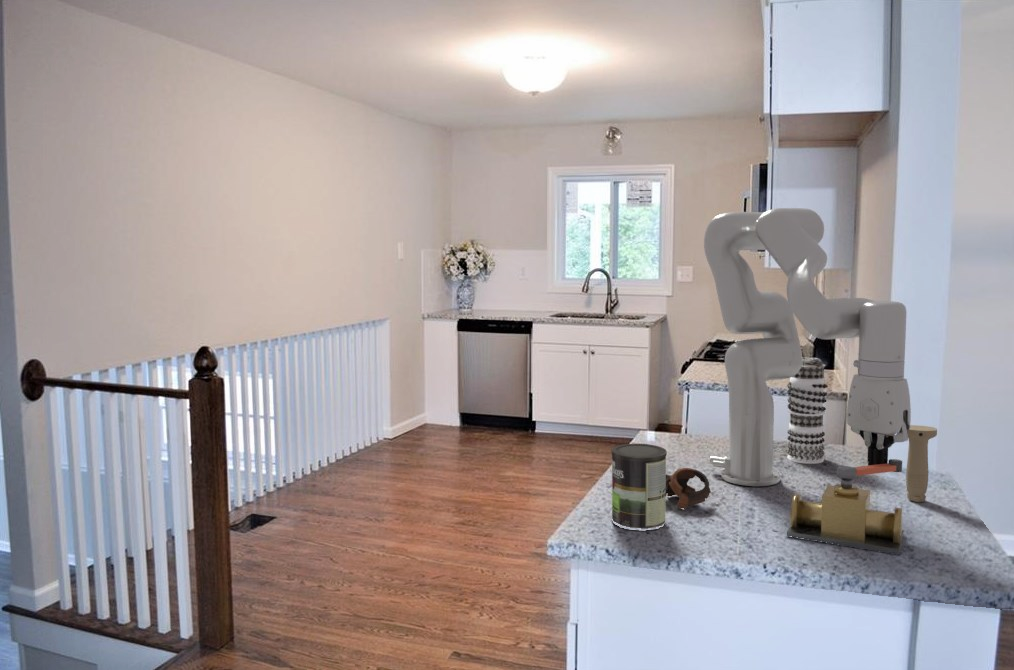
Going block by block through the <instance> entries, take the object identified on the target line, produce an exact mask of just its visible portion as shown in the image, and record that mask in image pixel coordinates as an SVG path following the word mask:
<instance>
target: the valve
mask: <svg viewBox="0 0 1014 670" xmlns="http://www.w3.org/2000/svg"><path fill="white" fill-rule="evenodd" d="M870 497H871V490H869V489H863V488H859V487H858V486H856V485H853V479H844V478H840V483H839V484H838V483H837V484H834V485H831V484H828V485H827V486H826V488H825V489H824V491H823V493H822V495H821V502H818V501H817V502H816V501H810V500H803V497H802V495H801V494H799V493H794V494H793V496H792V498H791V503H790V511H789V513H790V514H789V515H790V516H789V517H790V519H789V521H790V526H789V527H788V529H787V530H786V537H787V536H792V537H798V538H804V539H809V540H817V541H822V542H827V543H833V544H839V545H838V546H840V545H843V546H842V547H846V546H849V547H848V548H852V547H855V548H854V549H858V548H863V549H862V550H864V549H867V550H866V551H870V550H874V551H873V552H876V551H880V552H879V553H883V552H886V553H885V554H889V553H893V554H892V555H895V554H898V555H897V556H901V551H902V546H903V545H902V544H903V541H904V531H905V530H903V508H901V507H895V508H894V512H889V511H879V510H875V509H874V510H873V509H870V504H871V503H870V500H871V499H870ZM809 540H808V541H809ZM827 543H826V544H827ZM833 544H832V545H833Z"/></svg>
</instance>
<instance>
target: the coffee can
mask: <svg viewBox="0 0 1014 670" xmlns="http://www.w3.org/2000/svg"><path fill="white" fill-rule="evenodd" d="M610 451H611V455H612V456H611V475H612V478H611V479H612V480H611V487H612V488H611V489H612V490H611V491H612V493H611V496H612V497H611V498H612V499H611V500H612V501H611V505H612V506H611V509H612V510H611V511H612V513H611V520H612V519H613V521H614V522H616V523H618V524H620V525H622V526H626V527H630V528H641V529H648V528H656V527H659V526H662V525H663V524H664V523H665V521H666V498H667V495H666V474H667V467H666V466H667V465H666V464H667V453H668V452H667V450H666V448H664V447H662V446H658V445H656V444H655V445H654V444H650V443H649V444H647V443H624V444H619V445H616V446H613V447H612V448H611V450H610Z"/></svg>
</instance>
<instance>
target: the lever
mask: <svg viewBox="0 0 1014 670" xmlns="http://www.w3.org/2000/svg"><path fill="white" fill-rule="evenodd" d="M891 472H893V473H902V472H903V460H900V459H897V458H896V459H895V458H889V459H888V463H885V464H877V465H868V464H867V465H862V466H846V465H841V466H840V465H839V466H837V467H836V476H837V477H838V478H840V479H841V478H844V479H852V480H854V479H857V478H858V477H859V476H867V475H874V474H875V475H876V474H883V473H884V474H885V473H891ZM857 476H858V477H857Z"/></svg>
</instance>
